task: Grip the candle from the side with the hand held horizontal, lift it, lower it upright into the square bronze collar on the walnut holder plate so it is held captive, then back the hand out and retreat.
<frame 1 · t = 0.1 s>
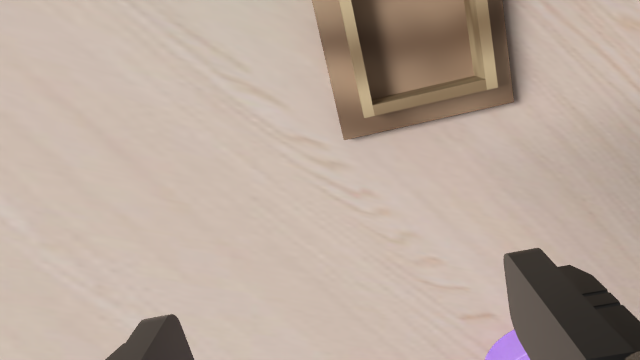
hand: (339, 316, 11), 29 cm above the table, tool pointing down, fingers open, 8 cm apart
candle holder: (410, 34, 37), on the table
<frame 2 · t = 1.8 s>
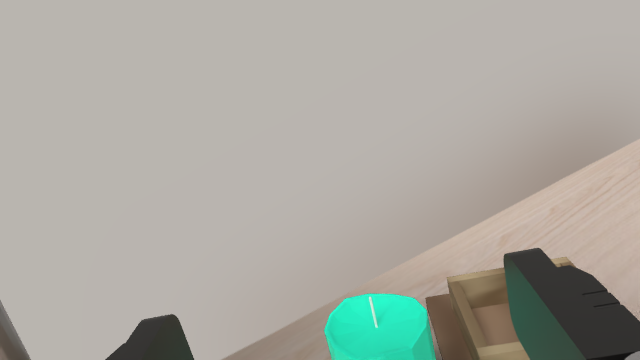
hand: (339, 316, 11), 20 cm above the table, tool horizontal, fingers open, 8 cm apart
candle holder: (532, 346, 36), on the table
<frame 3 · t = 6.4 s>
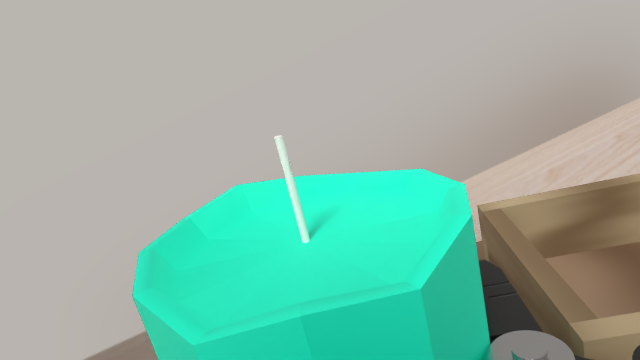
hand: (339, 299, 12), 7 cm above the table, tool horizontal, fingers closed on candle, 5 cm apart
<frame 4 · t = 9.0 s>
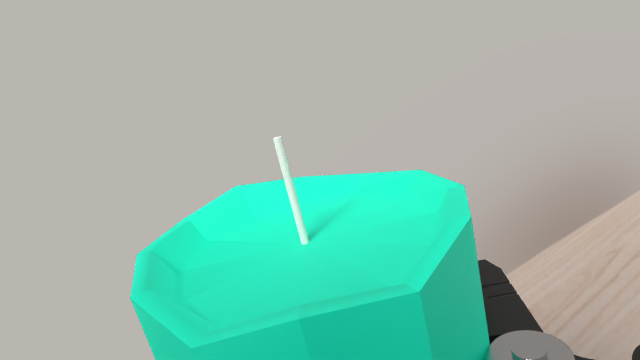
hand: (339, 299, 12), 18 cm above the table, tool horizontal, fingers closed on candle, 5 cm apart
when the fingers open (9 cm above the table, at t = 11.6 s): candle drops 1 cm, resting on candle holder.
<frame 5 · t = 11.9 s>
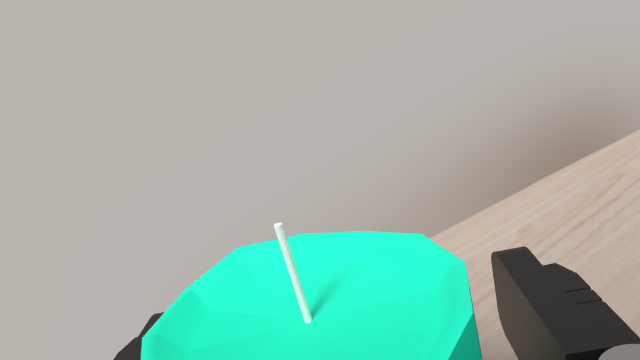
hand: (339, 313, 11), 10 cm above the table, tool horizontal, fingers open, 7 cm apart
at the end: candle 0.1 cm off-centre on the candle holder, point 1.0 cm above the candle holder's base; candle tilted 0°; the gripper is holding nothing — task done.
